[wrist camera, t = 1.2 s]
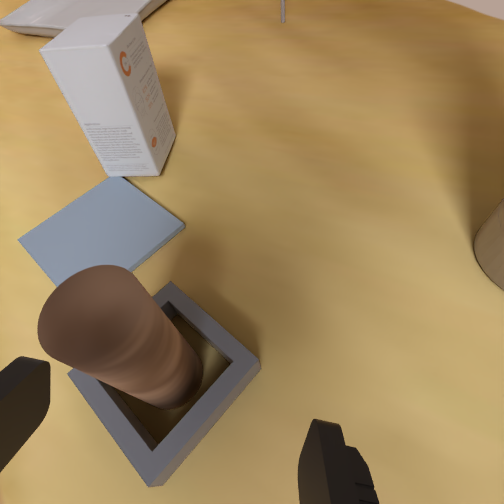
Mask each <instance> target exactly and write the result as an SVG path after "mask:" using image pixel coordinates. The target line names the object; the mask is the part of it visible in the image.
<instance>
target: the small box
mask: <svg viewBox="0 0 504 504" xmlns="http://www.w3.org/2000/svg"><path fill="white" fill-rule="evenodd" d="M39 52H40V53H41V55H42V57H43V59H44V61H45V63H46V64H47V66H48V68H49V70H50V72H51V74H52V75H53V77H54V79H55V81H56V83H57V85H58V86H59V88H60V90H61V92H62V94H63V95H64V97H65V99H66V101H67V103H68V105H69V106H70V108H71V110H72V112H73V114H74V116H75V117H76V119H77V121H78V123H79V125H80V127H81V128H82V130H83V132H84V134H85V136H86V137H87V139H88V141H89V143H90V145H91V147H92V148H93V150H94V152H95V154H96V156H97V158H98V159H99V161H100V163H101V165H102V167H103V169H104V171H105V172H106V174H107V176H109V177H118V176H159V175H160V173H161V170H162V168H163V165H164V163H165V161H166V158H167V156H168V154H169V151H170V149H171V147H172V144H173V142H174V139H175V137H176V134H175V131H174V128H173V125H172V121H171V118H170V115H169V112H168V109H167V105H166V102H165V99H164V95H163V92H162V89H161V85H160V82H159V78H158V75H157V72H156V68H155V65H154V62H153V58H152V55H151V52H150V49H149V45H148V42H147V39H146V35H145V32H144V29H143V25H142V22H141V19H140V16H139V14H137V13H128V14H113V15H101V16H91V17H83V18H78V19H77V20H76V21H75V22H74V23H72V24H71V25H70V26H69V27H67V28H66V29H65V30H64V31H62V32H61V33H60V34H59V35H57V36H56V37H55V38H54V39H52V40H51V41H50V42H48V43H47V44H46V45H45V46H43V47H42V48H41V49H39Z"/></svg>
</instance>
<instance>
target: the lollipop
mask: <svg viewBox="0 0 504 504" xmlns="http://www.w3.org/2000/svg"><path fill="white" fill-rule="evenodd" d="M281 22H282V23H284V22H285V0H281Z"/></svg>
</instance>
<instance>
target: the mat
mask: <svg viewBox="0 0 504 504" xmlns="http://www.w3.org/2000/svg"><path fill="white" fill-rule="evenodd" d="M184 228H185V225H184V223H183V222H181V221H180V220H179V219H177V218H176V217H175V216H173V215H172V214H171V213H169V212H168V211H167V210H165V209H164V208H163V207H161V206H160V205H159V204H157V203H156V202H155V201H153V200H152V199H150V198H149V197H148V196H146V195H145V194H144V193H142V192H141V191H140V190H138V189H137V188H136V187H134V186H133V185H132V184H130V183H129V182H128V181H126V180H125V179H124V178H122V177H121V176H118V177H109V178H107V179H106V180H104V181H103V182H101V183H100V184H98V185H97V186H95V187H94V188H92V189H91V190H89V191H88V192H87V193H85V194H84V195H82V196H81V197H79V198H78V199H76V200H75V201H73V202H72V203H70V204H69V205H67V206H66V207H64V208H63V209H62V210H60V211H59V212H57V213H56V214H54V215H53V216H51V217H50V218H48V219H47V220H45V221H44V222H42V223H41V224H39V225H38V226H37V227H35V228H34V229H32V230H31V231H29V232H28V233H26V234H25V235H23V236H22V237H20V238H19V239H17V240H18V241H19V242H20V243H21V245H22V246H23V247H24V248H25V249H26V251H27V252H28V253H29V254H30V255H31V257H32V258H33V259H34V260H35V261H36V263H37V264H38V265H39V266H40V267H41V269H42V270H43V271H44V272H45V273H46V274H47V276H48V277H49V278H50V279H51V280H52V282H53V283H54V284H55V285H56V286H57V287H58V286H59V285H60V284H61V283H62V282H64V281H65V280H66V279H68V278H69V277H70V276H72V275H74V274H75V273H77V272H79V271H81V270H84V269H86V268H89V267H93V266H98V265H115V266H120V267H122V268H125V269H127V270H128V271H130V272H132V271H133V270H134V269H136V268H137V267H138V266H139V265H140V264H142V263H143V262H144V261H145V260H146V259H148V258H149V257H150V256H151V255H152V254H154V253H155V252H156V251H157V250H158V249H160V248H161V247H162V246H163V245H164V244H166V243H167V242H168V241H169V240H170V239H172V238H173V237H174V236H175V235H176V234H178V233H179V232H180V231H181V230H182V229H184Z"/></svg>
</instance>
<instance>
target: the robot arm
mask: <svg viewBox="0 0 504 504" xmlns="http://www.w3.org/2000/svg"><path fill="white" fill-rule="evenodd" d="M474 251H475V254H476V257H477V260H478V262H479V264H480V266H481V267H482V269H483V271H484V272H485V273H486V274H487V275H488V276H489V278H490V279H491V280H492V281H493V282H495V283H496V284H497V285H498V286H499V287H500V288H502V289H503V290H504V199H503V200H502V201H501V202H500V204H499V205H498V206H497V207H496V209H495V210H494V211H493V213H492V214H491V215H490V216H489V218H488V219H487V220H486V221H485V223H484V224H483V225H482V227H481V228H480V229H479V231H478V232H477V234H476V237H475V241H474ZM49 405H50V363H49V362H47V361H43V360H38V359H33V358H29V357H24V356H21V357H18V358H16V359H15V360H14V361H13V362H11V363H10V364H9V365H8V366H7V367H5V368H4V369H3V370H2V371H1V372H0V472H1V471H2V470H3V469H4V467H5V466H6V465H7V464H8V463H9V461H10V460H11V459H12V458H13V457H14V455H15V454H16V453H17V452H18V451H19V449H20V448H21V447H22V446H23V445H24V443H25V442H26V441H27V440H28V439H29V437H30V436H31V435H32V434H33V433H34V431H35V430H36V429H37V428H38V427H39V425H40V424H41V423H42V421H43V420H44V418H45V416H46V414H47V411H48V409H49ZM298 488H299V501H300V504H379V501H378V497H377V494H376V491H375V490H374V484H373V481H372V478H371V474H370V471H369V468H368V465H367V464H366V462H365V461H364V459H363V458H362V456H361V455H360V453H359V452H358V450H357V449H356V448H355V447H350V446H346V445H345V441H344V437H343V433H342V429H341V427H340V425H339V424H337V423H332V422H327V421H322V420H318V419H313V421H312V423H311V425H310V428H309V431H308V434H307V437H306V440H305V443H304V446H303V448H302V451H301V454H300V458H299V464H298Z"/></svg>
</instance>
